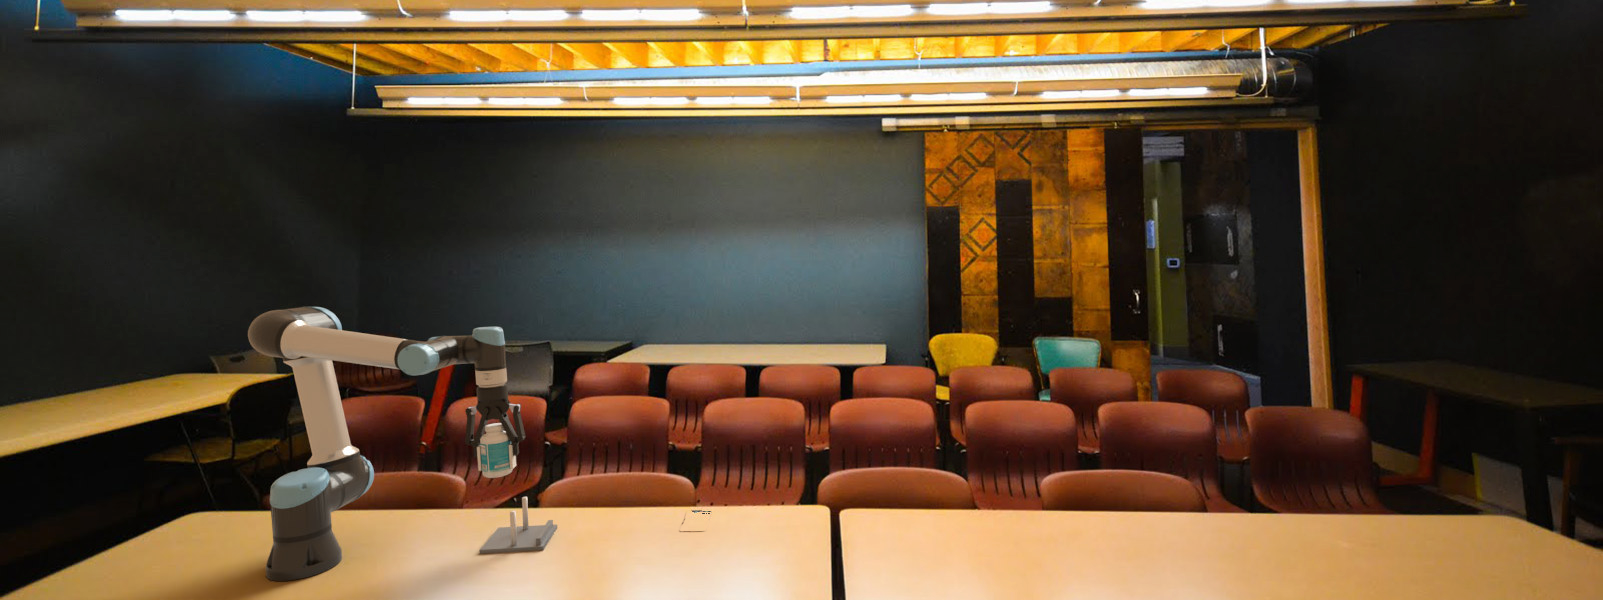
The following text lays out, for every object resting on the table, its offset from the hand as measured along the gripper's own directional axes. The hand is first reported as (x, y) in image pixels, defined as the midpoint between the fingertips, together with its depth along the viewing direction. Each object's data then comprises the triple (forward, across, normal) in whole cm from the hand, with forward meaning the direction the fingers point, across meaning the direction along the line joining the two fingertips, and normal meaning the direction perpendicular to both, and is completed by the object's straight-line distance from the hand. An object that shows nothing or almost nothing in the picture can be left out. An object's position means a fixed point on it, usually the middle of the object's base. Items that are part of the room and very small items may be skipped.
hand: (497, 468), depth 175 cm
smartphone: (+22, +52, +7) cm, 57 cm away
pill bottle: (+2, 0, 0) cm, 2 cm away
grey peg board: (+20, +5, 0) cm, 21 cm away
